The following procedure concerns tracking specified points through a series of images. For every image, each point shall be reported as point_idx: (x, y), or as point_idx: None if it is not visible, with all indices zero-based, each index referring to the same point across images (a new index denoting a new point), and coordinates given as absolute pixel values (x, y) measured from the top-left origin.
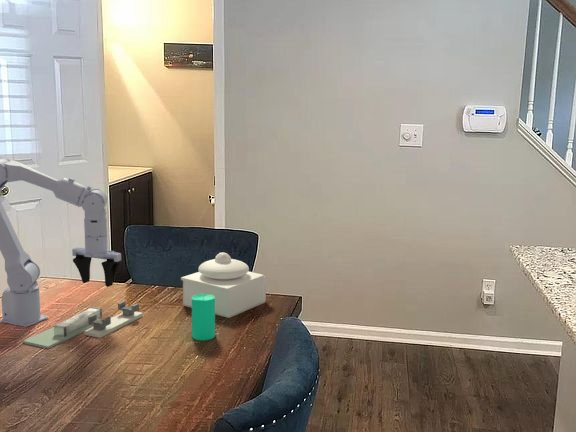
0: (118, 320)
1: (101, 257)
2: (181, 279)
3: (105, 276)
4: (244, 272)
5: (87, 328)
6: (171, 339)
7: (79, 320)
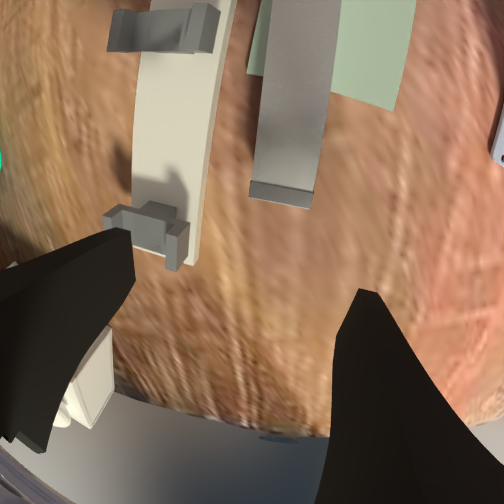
0: (160, 147)
1: (27, 492)
2: (73, 378)
3: (54, 264)
4: None
5: (254, 41)
6: (11, 103)
7: (272, 6)
